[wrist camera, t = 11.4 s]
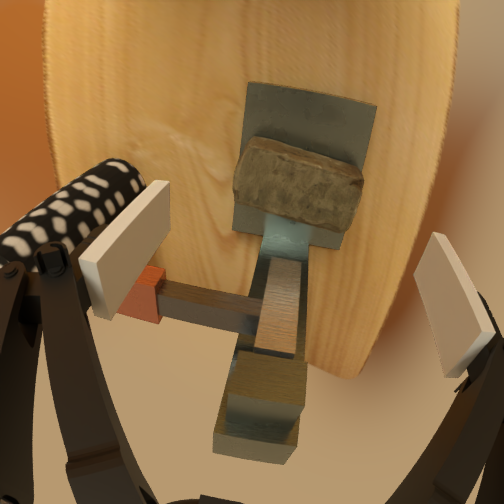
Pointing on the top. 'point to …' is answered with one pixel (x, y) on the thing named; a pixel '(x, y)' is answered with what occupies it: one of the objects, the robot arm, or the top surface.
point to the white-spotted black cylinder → (73, 211)
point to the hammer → (225, 306)
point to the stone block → (297, 184)
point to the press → (291, 248)
